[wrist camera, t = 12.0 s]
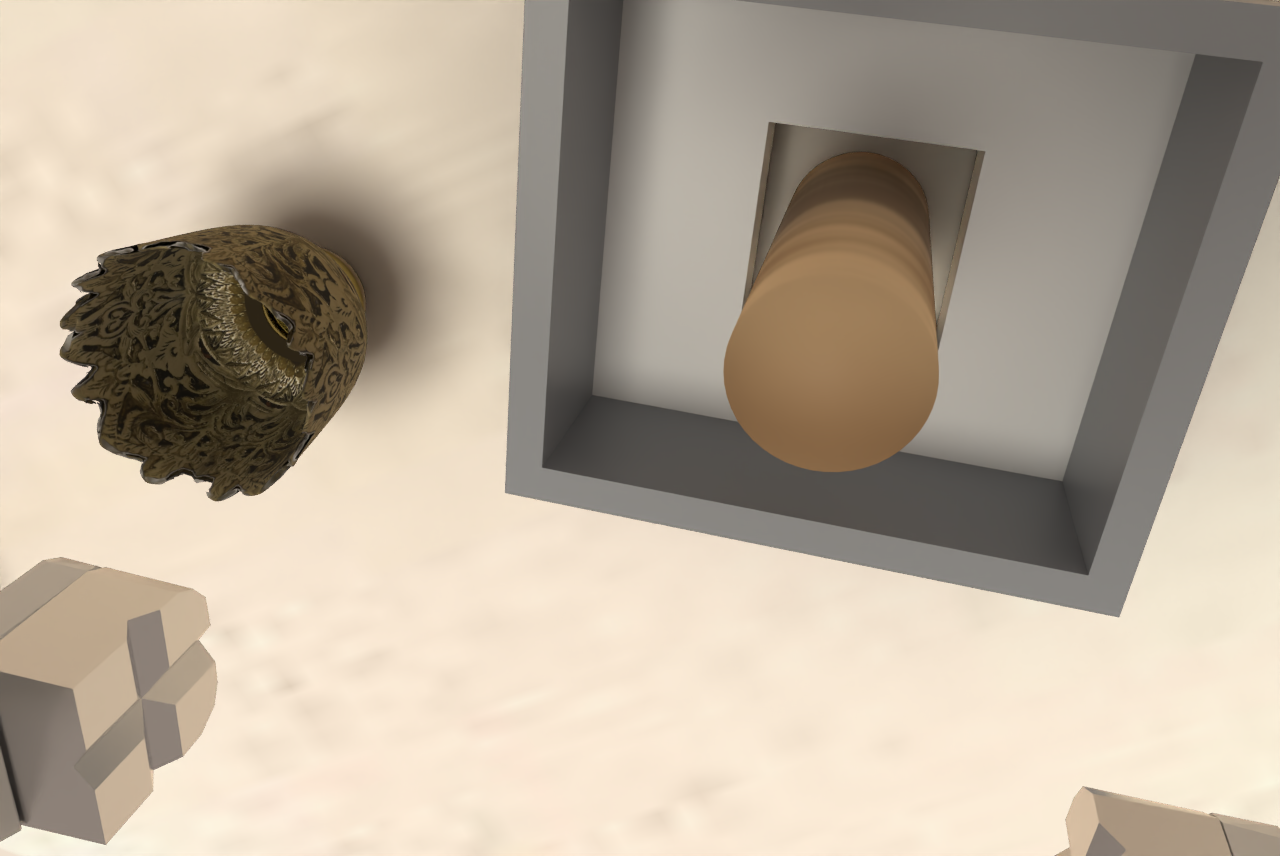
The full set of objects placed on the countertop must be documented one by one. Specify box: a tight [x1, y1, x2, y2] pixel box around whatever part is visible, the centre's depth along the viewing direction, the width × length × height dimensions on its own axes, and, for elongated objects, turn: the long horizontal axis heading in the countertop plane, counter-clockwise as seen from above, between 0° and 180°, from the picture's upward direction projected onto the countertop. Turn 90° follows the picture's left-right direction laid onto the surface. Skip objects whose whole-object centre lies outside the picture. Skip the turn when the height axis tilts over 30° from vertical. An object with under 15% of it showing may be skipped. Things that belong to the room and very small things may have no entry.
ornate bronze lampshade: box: [60, 225, 367, 501], centre depth 32 cm, size 8×7×8 cm
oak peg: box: [723, 152, 939, 472], centre depth 25 cm, size 4×4×12 cm
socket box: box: [505, 0, 1280, 617], centre depth 27 cm, size 14×16×7 cm
